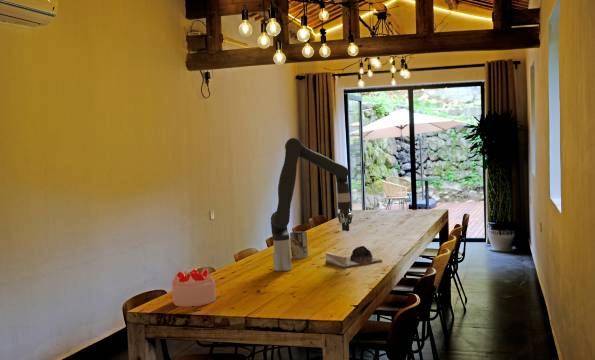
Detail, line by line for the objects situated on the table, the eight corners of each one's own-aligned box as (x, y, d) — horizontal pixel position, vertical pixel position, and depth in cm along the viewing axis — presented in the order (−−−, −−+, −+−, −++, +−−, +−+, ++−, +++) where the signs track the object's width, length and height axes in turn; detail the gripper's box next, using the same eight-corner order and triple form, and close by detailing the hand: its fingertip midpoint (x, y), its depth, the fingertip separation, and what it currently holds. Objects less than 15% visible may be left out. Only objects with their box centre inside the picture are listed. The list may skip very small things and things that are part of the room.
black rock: (357, 259, 363) (354, 243, 362) (378, 258, 356) (375, 242, 355) (347, 265, 351) (344, 248, 351) (368, 264, 344) (365, 247, 344)
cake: (218, 295, 293) (216, 266, 292) (213, 305, 273) (211, 274, 272) (177, 298, 292) (175, 269, 292) (170, 309, 272) (167, 277, 272)
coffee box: (308, 256, 382) (307, 231, 381) (304, 258, 377) (302, 232, 376) (295, 256, 386) (294, 231, 386) (291, 258, 381) (289, 232, 380)
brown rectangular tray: (362, 257, 366) (362, 247, 366) (382, 261, 348) (381, 251, 348) (325, 263, 354) (324, 253, 354) (343, 268, 336) (342, 257, 336)
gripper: (332, 201, 352) (334, 230, 353) (344, 202, 340) (346, 232, 341) (343, 199, 356) (345, 229, 357) (355, 200, 343) (357, 231, 344)
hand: (345, 230), depth 349 cm, fingers open, 3 cm apart
